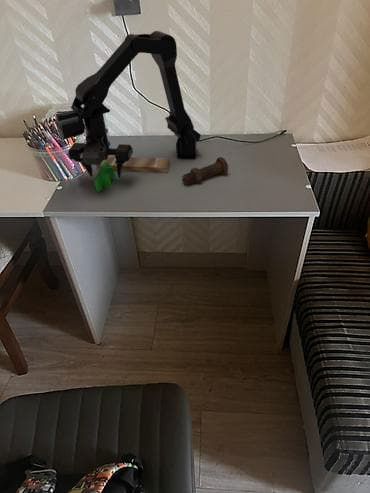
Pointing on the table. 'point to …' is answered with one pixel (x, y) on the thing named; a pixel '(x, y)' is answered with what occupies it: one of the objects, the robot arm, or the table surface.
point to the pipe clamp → (104, 176)
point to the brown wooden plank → (140, 164)
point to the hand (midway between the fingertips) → (105, 176)
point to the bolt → (206, 171)
